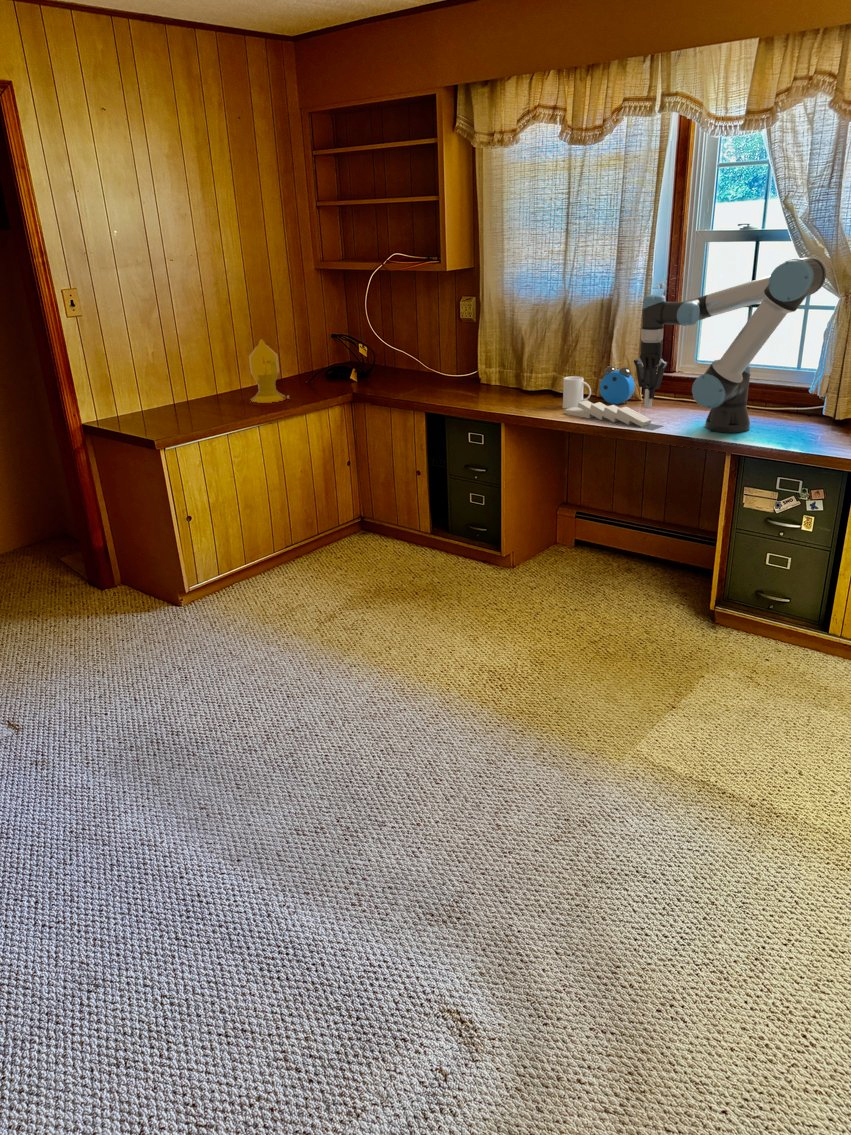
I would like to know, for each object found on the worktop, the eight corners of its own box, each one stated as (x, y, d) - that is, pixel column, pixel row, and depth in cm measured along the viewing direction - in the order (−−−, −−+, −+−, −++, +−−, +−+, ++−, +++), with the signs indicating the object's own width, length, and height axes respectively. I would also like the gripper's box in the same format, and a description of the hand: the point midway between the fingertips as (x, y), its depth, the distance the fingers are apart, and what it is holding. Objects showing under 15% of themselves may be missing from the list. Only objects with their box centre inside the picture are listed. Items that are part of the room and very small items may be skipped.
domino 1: (598, 411, 326) (573, 407, 335) (589, 413, 323) (565, 409, 332) (597, 415, 327) (573, 411, 335) (589, 418, 324) (565, 414, 332)
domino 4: (638, 417, 313) (613, 404, 320) (629, 420, 310) (604, 407, 317) (636, 422, 314) (612, 408, 321) (628, 424, 311) (603, 411, 318)
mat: (664, 427, 307) (664, 425, 307) (652, 431, 303) (652, 430, 302) (594, 415, 330) (594, 414, 330) (581, 418, 325) (581, 417, 325)
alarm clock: (634, 403, 346) (636, 366, 340) (628, 406, 341) (630, 369, 335) (604, 400, 353) (606, 364, 347) (598, 403, 348) (599, 367, 343)
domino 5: (651, 419, 309) (626, 406, 316) (643, 422, 306) (617, 408, 313) (650, 424, 310) (624, 410, 317) (641, 427, 307) (616, 413, 314)
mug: (594, 407, 343) (595, 377, 338) (584, 411, 337) (585, 381, 332) (568, 404, 350) (569, 375, 345) (558, 408, 343) (559, 379, 339)
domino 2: (610, 413, 322) (587, 400, 329) (602, 415, 319) (578, 402, 325) (609, 417, 323) (585, 404, 330) (600, 420, 320) (577, 406, 327)
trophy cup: (289, 395, 396) (283, 334, 385) (289, 406, 374) (281, 341, 363) (252, 398, 394) (244, 337, 383) (249, 409, 372) (240, 344, 361)
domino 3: (623, 415, 318) (599, 402, 325) (615, 418, 315) (591, 404, 321) (622, 419, 319) (598, 406, 326) (613, 422, 316) (590, 408, 322)
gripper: (673, 340, 294) (669, 407, 303) (642, 338, 303) (639, 403, 312) (661, 343, 290) (657, 411, 299) (630, 340, 299) (626, 406, 308)
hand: (648, 407), depth 306 cm, fingers closed
